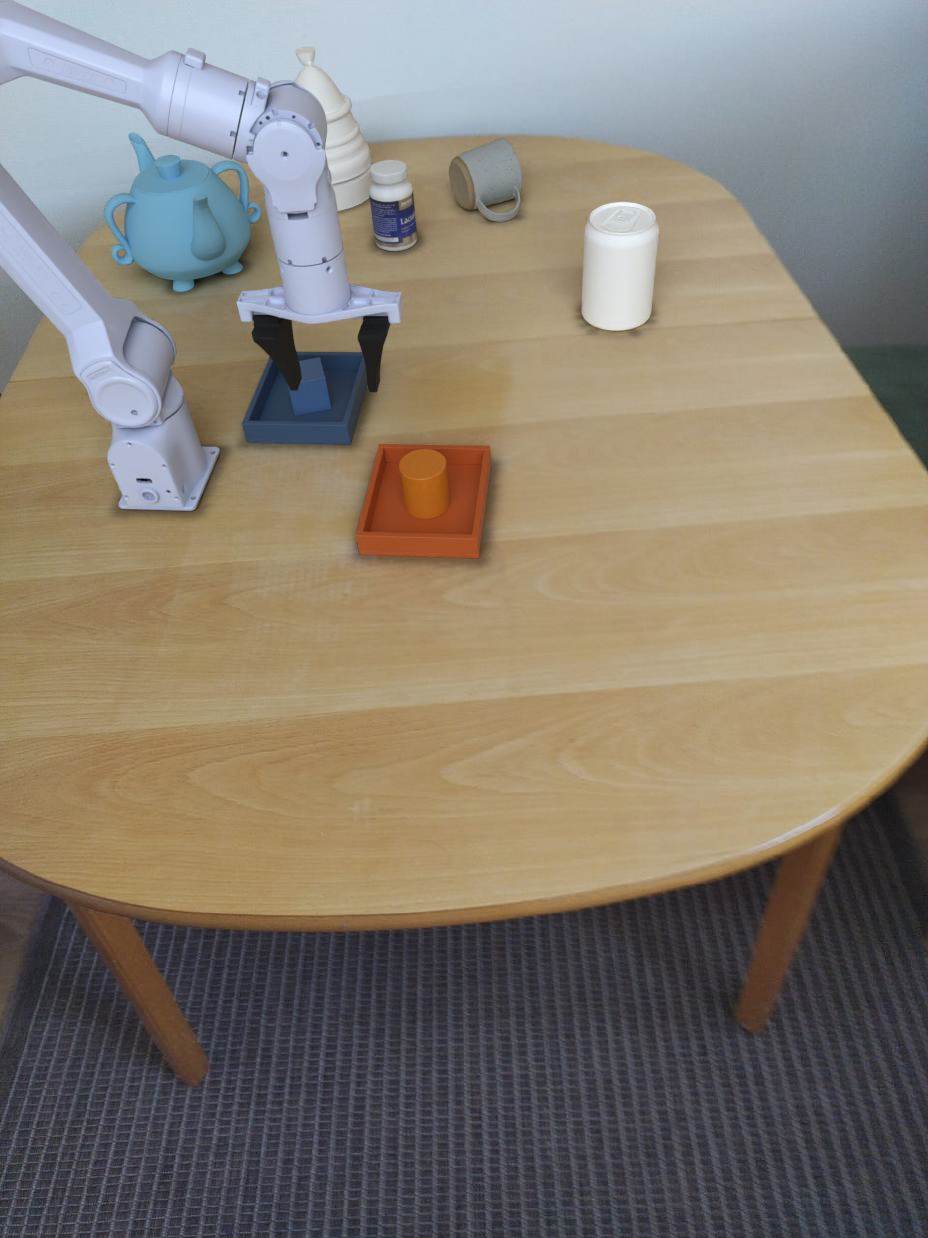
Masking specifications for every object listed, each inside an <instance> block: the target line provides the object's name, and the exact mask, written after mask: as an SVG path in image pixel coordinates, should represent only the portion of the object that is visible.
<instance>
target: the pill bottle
mask: <svg viewBox="0 0 928 1238" xmlns="http://www.w3.org/2000/svg"><path fill="white" fill-rule="evenodd" d="M370 176H371V179H372V181H373V183H372V185H371V186H370V189H369V197H370V198H369V204H370V213H371V219H372V228H373V236H374V243H375V245H376V246H377V247H378V248H379V249H381V250H383V251H387V252H400V251H401V252H402V251H405V250H408V249H410V248H412V247H413V246H414V245H415V244H416V243H417V242H418V227H417V219H416V217H417V216H416V207H415V197H414V196H415V195H414V187H413V185H412V183H411V182H410V181H409V179H407V178H408V166H407V164H406V162H404V161H402V160H400V159H399V160H398V159H384V160H379V161H376V162H374V163H372V166H371V167H370Z"/></svg>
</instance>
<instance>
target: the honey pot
mask: <svg viewBox="0 0 928 1238" xmlns="http://www.w3.org/2000/svg"><path fill="white" fill-rule="evenodd" d="M295 56H296V58H297V60H298V62H299V63H300V64H301V65H302V66H304V67H303V68H302V69H301V70H300V71H299V72H298V74H297V76H296V78H295V80H294V81H295V82H296V83H297V84H298V85H300V86H301V87H303V88H305V89H307V90H308V91H310V92H311V93H312V94H313V95H314V96H315V97H316V98H317V99H318V100H319V102H320V103H321V105H322V107H323V109H324V112H325V115H326V120H327V138H326V146H325V152H326V157H327V162H328V167H329V170H330V172H331V179H332V182H331V185H332V187H333V189H334V192H335V196H336V203H337V209H338V212H341V211H345V210H348V209H352V208H354V207H358V206H359V205H361V204H363V203H364V202H366V201H367V200H370V197H369V189H370V186H371V185H372V183H373V181H372V179H371V176H370V167H371V166H372V165H373V163H372V157H371V156H372V155H371V150H370V147H369V144H368V143H367V142H366V141H365V138H364V135H363V133H362V131H361V129H360V125H359V122H357V120H356V119H355V117H354V115H353V112H352V111H351V109H352V106H353V103H352V100H351V98H350V97H349V96H347V95H346V94H344V93H341V91H340V89H339V88H338V86H337V85H336V83H335V82H334V80H332V78H331V77H330V76H329V75H328V73H327V72H325V71H324V70H323V69H322V68H321V67H319V66H317V65H314V62H315V59H316V49H315V47H313V46H302V47H299V48H297V49H295Z"/></svg>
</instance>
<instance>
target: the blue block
mask: <svg viewBox="0 0 928 1238" xmlns="http://www.w3.org/2000/svg"><path fill="white" fill-rule="evenodd" d="M299 363H300V368H301V375H302V379H301V382H300V385H299V387H298V390H297V391H291V390H290V388H289V386H288V389H289V393H290V397H291V401H292V406H293V410H294V414H295V416H297V415H302V414H307V413H312V412H317V411H323V410H328V409H331V403H330V398H329V394H328V389H327V384H326V379H325V375H324V371H323V367H322V363H321V360H320V357H318V358H313V359H308V360H302V361H299ZM287 385H288V384H287Z"/></svg>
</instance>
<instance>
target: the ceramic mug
mask: <svg viewBox="0 0 928 1238" xmlns="http://www.w3.org/2000/svg"><path fill="white" fill-rule="evenodd" d="M448 167H449V168H448V176H449V177H448V178H449V184H450V188H451V191H452V193H453V196H454V198H455V200H456V202H457V203H458V204H459V205H460V207H462V208H463V209H465V210H468V211H471V210H478V211H479V212H480V214H481V215H483V217H485V218H486V219H487V220H489V221H492V222H496V223H503V222H508V221H511V220H513V219H514V218H515V217H517V215H518V214H519V211H520V207H521V200H522V199H521V198H522V197H521V193H522V189H523V180H524V179H523V172H522V171H523V170H522V166H521V162H520V159H519V157H518V154H517V152H516V150H515V147H514V146H513V145H512V144H511V142H510V141H509V140H508V139H507V138H504V137H498V138H496V139H494V140H491V141H489V142H486V143H484V144H481V145H479V146H477V147H474V148H472V149H469V150H465V151H464V152H461V153H460V154H458V155H457V156H455V157H454V158H452V159H451V161H450V164H449V166H448ZM513 199H515V202H516V204H515V206H514V208H513V209H512V210H510V211H506V212H495V211H492V210H490V209H489V208H487V207H489V206H492V205H496V204H500V203H503V202H507V201H510V200H513Z"/></svg>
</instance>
